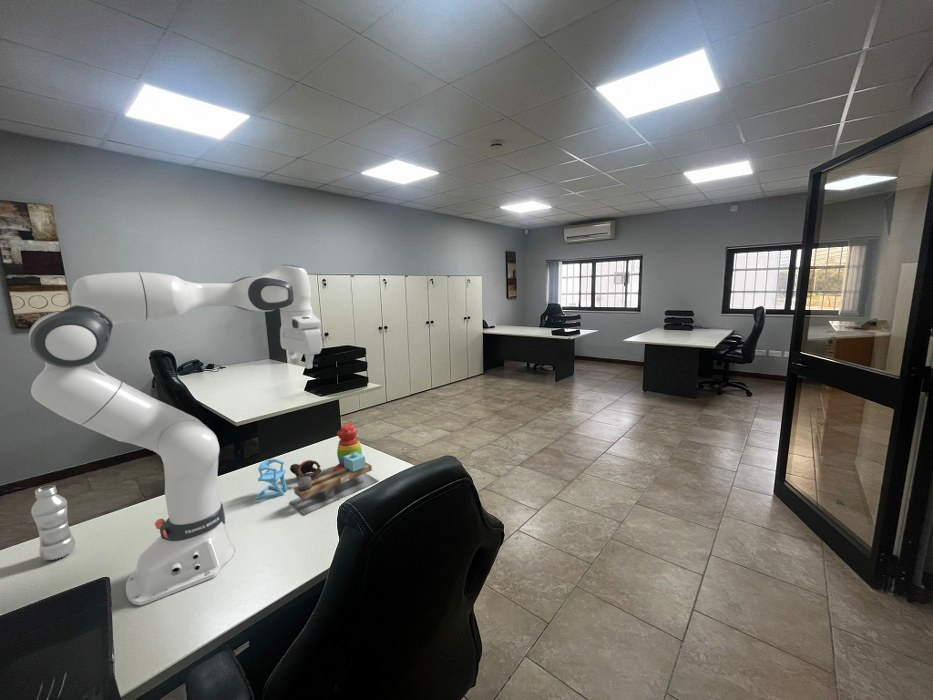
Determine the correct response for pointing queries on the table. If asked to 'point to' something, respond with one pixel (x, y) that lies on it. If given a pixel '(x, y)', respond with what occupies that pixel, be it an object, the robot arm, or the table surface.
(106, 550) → the table surface
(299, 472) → the pottery mug
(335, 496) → the brown wooden bench
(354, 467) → the block
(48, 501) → the plastic bottle
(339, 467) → the stacking bear
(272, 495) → the chair
